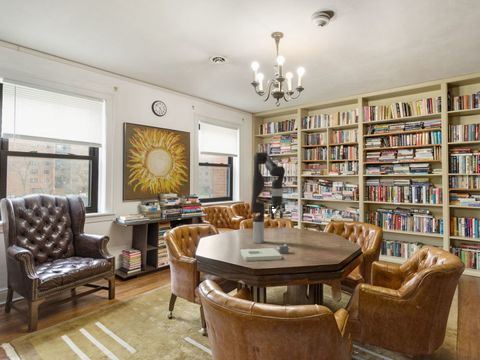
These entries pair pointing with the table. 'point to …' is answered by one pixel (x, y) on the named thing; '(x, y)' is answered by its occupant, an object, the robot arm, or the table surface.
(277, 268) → the table surface
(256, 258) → the chassis board
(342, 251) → the table surface
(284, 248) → the servo block
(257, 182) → the robot arm
